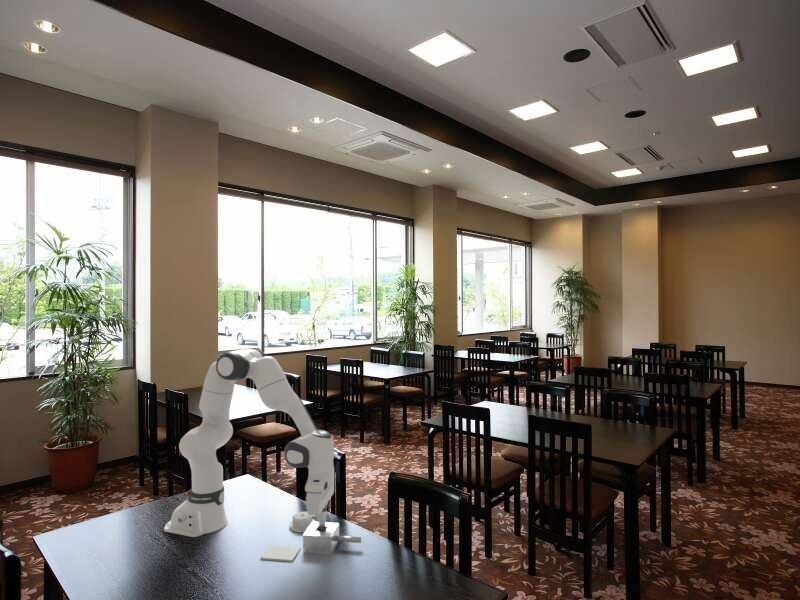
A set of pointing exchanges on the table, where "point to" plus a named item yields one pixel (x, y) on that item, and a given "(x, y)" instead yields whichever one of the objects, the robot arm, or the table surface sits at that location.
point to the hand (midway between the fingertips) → (321, 517)
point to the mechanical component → (301, 522)
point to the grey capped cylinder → (323, 521)
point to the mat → (281, 553)
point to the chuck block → (324, 538)
